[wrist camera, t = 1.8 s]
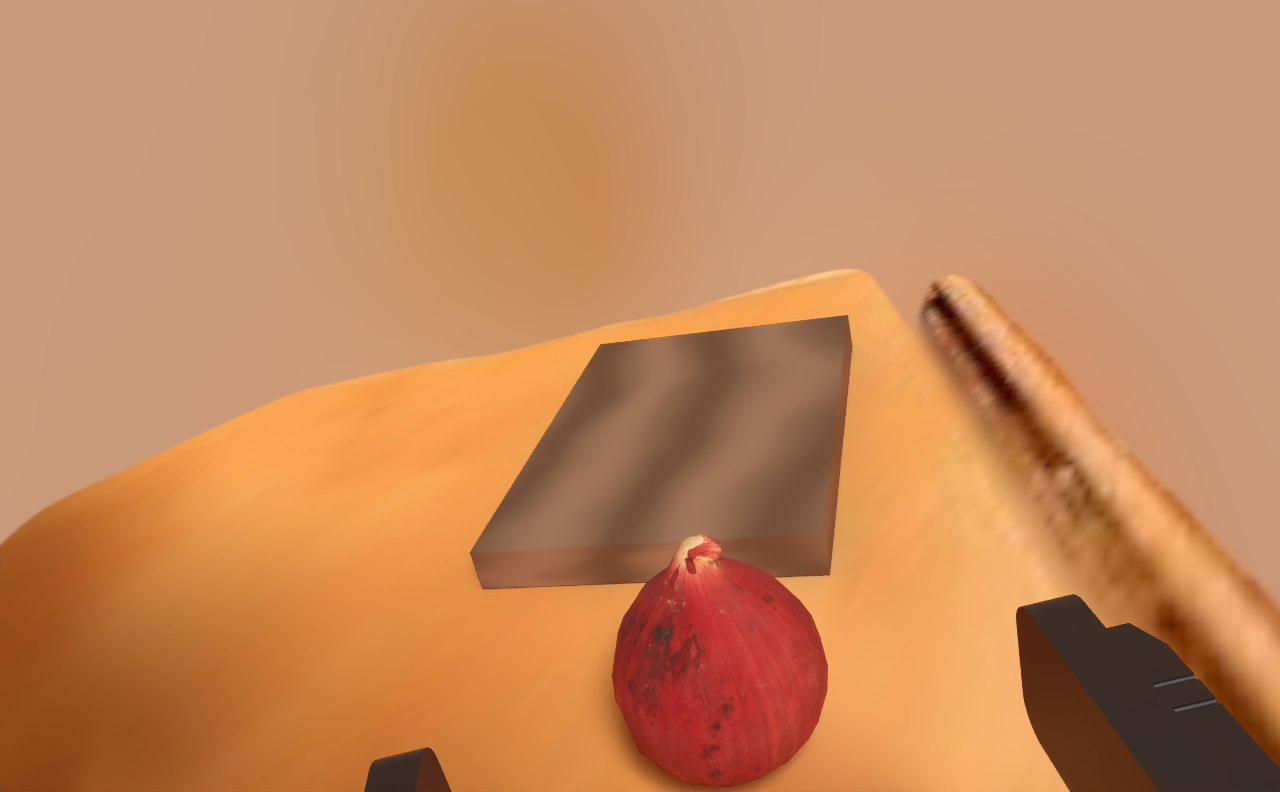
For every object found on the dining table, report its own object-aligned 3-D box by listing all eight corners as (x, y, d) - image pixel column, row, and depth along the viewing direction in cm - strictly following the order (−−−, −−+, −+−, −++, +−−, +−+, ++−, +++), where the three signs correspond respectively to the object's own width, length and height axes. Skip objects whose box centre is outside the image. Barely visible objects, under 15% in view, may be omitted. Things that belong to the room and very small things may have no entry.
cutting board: (482, 588, 40) (469, 552, 39) (607, 372, 57) (600, 344, 56) (829, 574, 36) (822, 533, 35) (852, 345, 53) (847, 315, 52)
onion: (756, 892, 25) (694, 647, 22) (605, 791, 29) (533, 572, 26) (882, 744, 28) (845, 512, 25) (731, 672, 32) (681, 464, 29)
